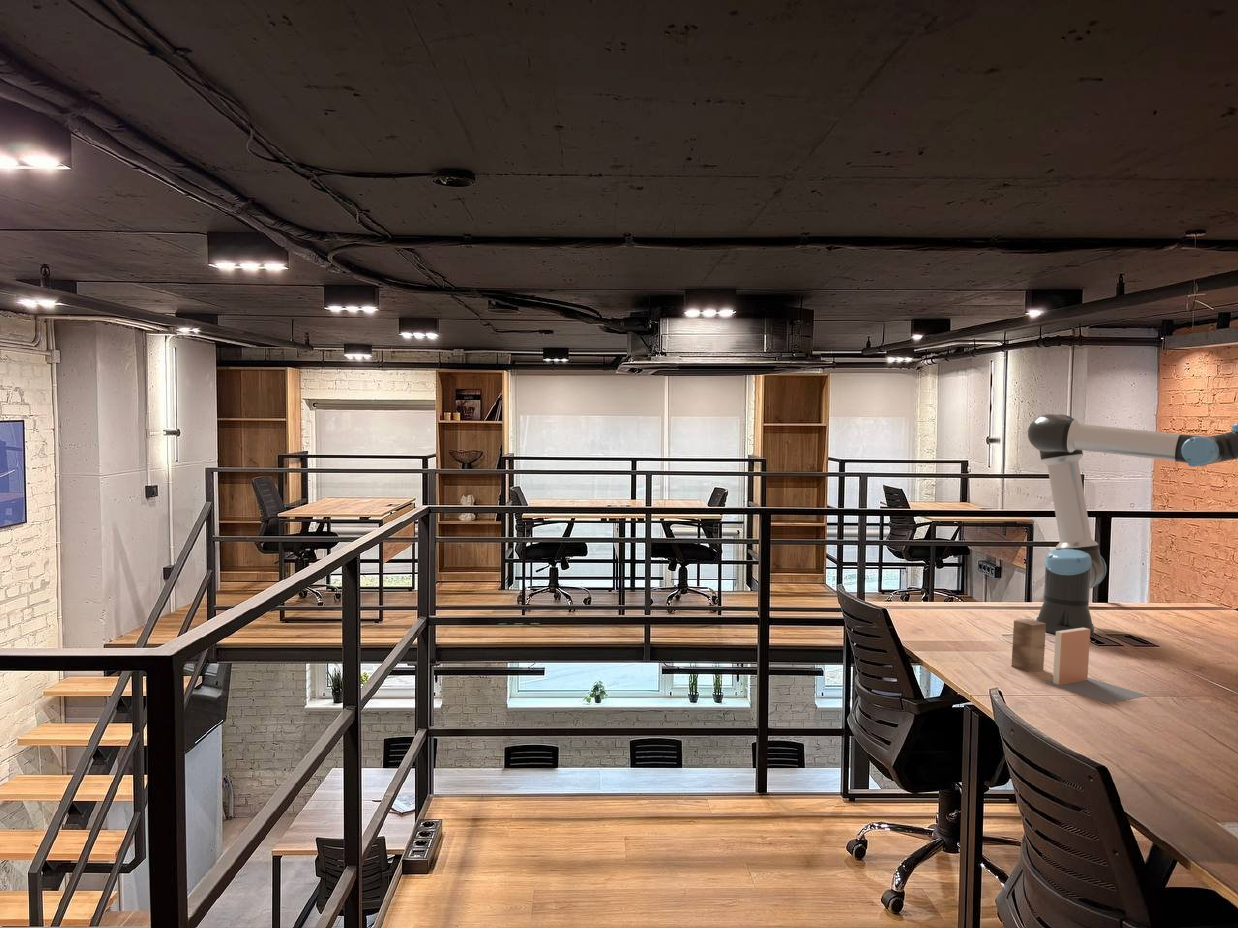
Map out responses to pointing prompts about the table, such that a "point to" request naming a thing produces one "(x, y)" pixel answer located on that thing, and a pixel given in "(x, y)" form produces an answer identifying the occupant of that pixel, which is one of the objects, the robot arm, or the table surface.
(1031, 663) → the walnut block
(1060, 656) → the tile
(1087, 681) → the slate mat
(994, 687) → the table surface
